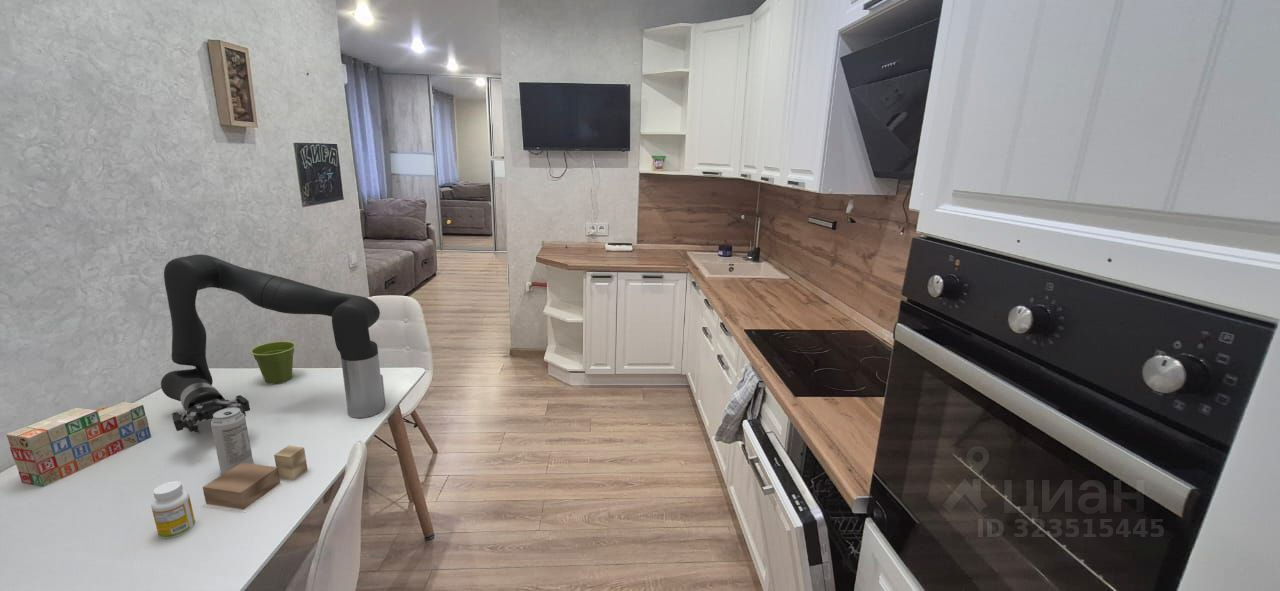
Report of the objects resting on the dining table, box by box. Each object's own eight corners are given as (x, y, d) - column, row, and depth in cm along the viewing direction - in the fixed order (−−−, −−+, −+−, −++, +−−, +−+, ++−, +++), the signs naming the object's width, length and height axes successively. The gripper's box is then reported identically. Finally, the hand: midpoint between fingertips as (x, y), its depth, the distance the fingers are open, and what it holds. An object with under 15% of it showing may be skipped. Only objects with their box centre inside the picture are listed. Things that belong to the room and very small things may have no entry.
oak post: (292, 468, 119) (288, 445, 117) (307, 470, 118) (304, 447, 117) (278, 478, 115) (274, 454, 113) (293, 480, 114) (289, 457, 113)
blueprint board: (266, 465, 120) (265, 464, 120) (307, 471, 118) (307, 469, 118) (199, 510, 105) (199, 508, 104) (246, 517, 103) (245, 515, 103)
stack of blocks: (132, 434, 131) (121, 390, 128) (152, 437, 130) (141, 393, 127) (21, 483, 111) (4, 433, 108) (43, 488, 110) (27, 437, 107)
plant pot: (248, 382, 162) (243, 348, 159) (289, 370, 172) (284, 338, 169) (266, 391, 156) (260, 357, 153) (307, 378, 166) (303, 346, 163)
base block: (244, 478, 115) (242, 462, 113) (280, 483, 113) (277, 467, 112) (206, 503, 106) (202, 487, 105) (243, 509, 105) (240, 492, 104)
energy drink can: (246, 460, 122) (236, 403, 118) (259, 468, 119) (248, 410, 115) (216, 473, 117) (204, 414, 113) (228, 482, 114) (216, 421, 110)
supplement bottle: (173, 521, 101) (163, 478, 99) (202, 520, 102) (193, 478, 99) (151, 540, 96) (139, 496, 94) (181, 539, 97) (171, 495, 94)
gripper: (162, 396, 124) (177, 418, 115) (234, 378, 135) (253, 397, 125) (168, 424, 126) (183, 448, 117) (238, 404, 137) (258, 425, 127)
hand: (219, 422), depth 121 cm, fingers open, 8 cm apart
